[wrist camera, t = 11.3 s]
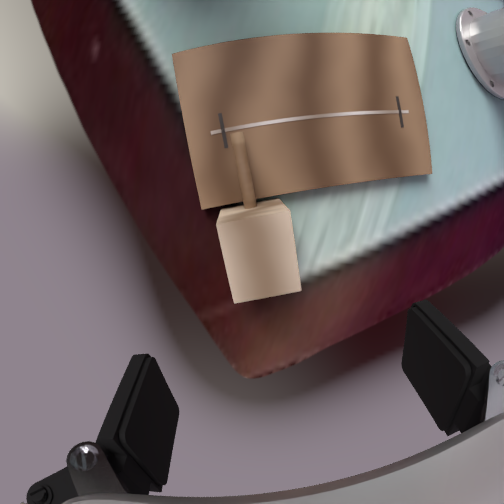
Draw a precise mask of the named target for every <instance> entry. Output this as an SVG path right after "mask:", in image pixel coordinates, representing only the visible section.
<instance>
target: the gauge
mask: <svg viewBox="0 0 504 504" xmlns="http://www.w3.org/2000/svg"><path fill="white" fill-rule="evenodd" d="M230 136H231V141H232V146H233V151H234V157H235V162H236V167H237V172H238V177H239V183H240V188H241V193H242V198H243V203H244V204H243V205H238V206H233V207H227V208H222V209H221V211H220V214H219V217H218V220H217V223H216V226H217V231H218V235H219V240H220V244H221V249H222V253H223V258H224V262H225V266H226V271H227V275H228V279H229V284H230V288H231V292H232V296H233V300H234V303H240V302H246V301H251V300H257V299H262V298H267V297H273V296H278V295H283V294H288V293H293V292H298V291H301V284H300V276H299V268H298V261H297V254H296V247H295V240H294V233H293V226H292V220H291V213H290V210H289V209H288V208H287V207H286V206H285V205H284V203H283V202H282V201H281V200H280V199H279V198H275V199H270V200H264V201H259V202H256V198H255V193H254V187H253V182H252V176H251V171H250V166H249V161H248V155H247V150H246V145H245V139H244V134H243V132H236V133H231V134H230Z"/></svg>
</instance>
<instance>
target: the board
mask: <svg viewBox="0 0 504 504" xmlns="http://www.w3.org/2000/svg"><path fill="white" fill-rule="evenodd" d="M172 57H173V64H174V70H175V76H176V81H177V87H178V93H179V98H180V104H181V109H182V115H183V120H184V126H185V131H186V136H187V141H188V146H189V151H190V156H191V161H192V166H193V171H194V176H195V180H196V185H197V190H198V194H199V199H200V204H201V208H202V210H203V209H207V208H212V207H217V206H222V205H227V204H232V203H237V202H243V198H242V193H241V188H240V183H239V177H238V172H237V167H236V162H235V157H234V151H233V146H232V141H231V136H230V134H231V133H236V132H243V134H244V139H245V145H246V150H247V155H248V161H249V166H250V171H251V176H252V182H253V187H254V193H255V198H256V199H259V198H264V197H270V196H275V195H281V194H287V193H293V192H299V191H305V190H311V189H317V188H324V187H330V186H337V185H344V184H351V183H358V182H365V181H373V180H380V179H388V178H397V177H405V176H414V175H424V174H432V165H431V155H430V146H429V138H428V131H427V124H426V118H425V112H424V106H423V101H422V96H421V91H420V86H419V82H418V77H417V73H416V69H415V65H414V61H413V57H412V54H411V50H410V46H409V43H408V40H407V38H404V37H396V36H386V35H375V34H359V33H302V34H286V35H274V36H264V37H256V38H248V39H241V40H235V41H229V42H223V43H218V44H212V45H208V46H203V47H198V48H194V49H190V50H185V51H181V52H177V53H174V54H172Z"/></svg>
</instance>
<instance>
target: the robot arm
mask: <svg viewBox="0 0 504 504" xmlns="http://www.w3.org/2000/svg"><path fill="white" fill-rule="evenodd" d="M456 32H457V38H458V41H459V45H460V48H461V50H462V53H463V55H464V57H465V59H466V61H467V63H468V65H469V67H470V69H471V70H472V72H473V74H474V75H475V76H476V78H477V79H478V81H479V82H480V83H481V84H482V85H483V86H484V88H485V89H487V90H488V91H489V92H490V93H491V94H493V95H494V96H496V97H498V98H501V99H504V8H501V9H498V10H495V11H493V12H490V13H486V12H484V11H482V10H480V9H477V8H467V9H464V10H463V11H461V12H460V13H459V15H458V16H457V20H456ZM402 369H403V371H404V373H405V374H406V376H407V377H408V379H409V381H410V382H411V384H412V385H413V387H414V388H415V390H416V392H417V393H418V395H419V396H420V398H421V400H422V401H423V403H424V404H425V406H426V408H427V409H428V411H429V413H430V414H431V416H432V417H433V419H434V421H435V423H436V424H437V426H438V428H439V429H440V430H441V431H443V430H444V431H445V433H446V434H447V436H449V435H451V434H453V433H455V432H457V431H459V430H460V432H461V434H459V435H457V436H455V437H453V438H451V439H449V440H447V441H445V442H443V443H440V444H439V445H436V446H434V447H432V448H430V449H427V450H425V451H423V452H420V453H418V454H416V455H413V456H411V457H408V458H406V459H403V460H400V461H398V462H395V463H393V464H390V465H387V466H384V467H381V468H378V469H375V470H372V471H369V472H365V473H362V474H358V475H355V476H351V477H348V478H344V479H340V480H336V481H332V482H328V483H323V484H319V485H314V486H309V487H304V488H298V489H292V490H287V491H279V492H272V493H263V494H254V495H243V496H225V497H171V496H153V495H149V491H154V492H162V486H163V485H165V484H166V483H167V479H168V473H169V467H170V462H171V456H172V450H173V444H174V439H175V434H176V427H177V422H178V418H179V407H178V405H177V403H176V401H175V399H174V397H173V395H172V393H171V391H170V389H169V387H168V385H167V383H166V381H165V378H164V376H163V374H162V372H161V370H160V368H159V366H158V364H157V362H156V359H155V358H154V357H151V356H150V355H149V354H138V355H133V356H132V358H131V360H130V362H129V365H128V367H127V369H126V371H125V373H124V376H123V378H122V380H121V382H120V385H119V387H118V389H117V391H116V394H115V396H114V398H113V401H112V403H111V405H110V408H109V410H108V413H107V415H106V418H105V420H104V422H103V425H102V427H101V430H100V432H99V435H98V438H97V440H96V443H94V442H90V441H87V442H82V443H79V444H77V445H75V446H74V447H73V448H72V449H71V450H70V451H69V453H68V455H67V459H66V462H67V467H65V468H64V469H62V470H60V471H58V472H56V473H54V474H52V475H50V476H48V477H46V478H44V479H43V480H41V481H39V482H37V483H35V484H33V485H32V486H31V487H30V489H29V490H28V493H27V503H26V504H504V360H503V361H499V362H497V363H495V364H494V365H493V366H491V365H490V364H489V360H488V359H487V358H486V357H485V356H484V355H483V354H482V353H481V352H480V351H479V350H478V349H477V348H476V347H475V345H474V344H473V343H472V342H470V341H469V339H468V338H467V337H465V335H463V334H462V332H461V331H459V330H458V329H457V328H456V327H455V326H454V325H453V324H452V323H451V322H450V321H449V320H448V319H447V318H446V317H445V316H444V315H443V314H442V313H441V312H440V311H439V310H438V309H436V308H435V307H434V306H433V305H432V304H431V303H430V302H429V301H428V300H423V301H420V302H416V303H413V304H412V306H411V308H410V309H409V310H408V315H407V324H406V334H405V343H404V350H403V357H402ZM21 504H25V503H24V502H22V503H21Z"/></svg>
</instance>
